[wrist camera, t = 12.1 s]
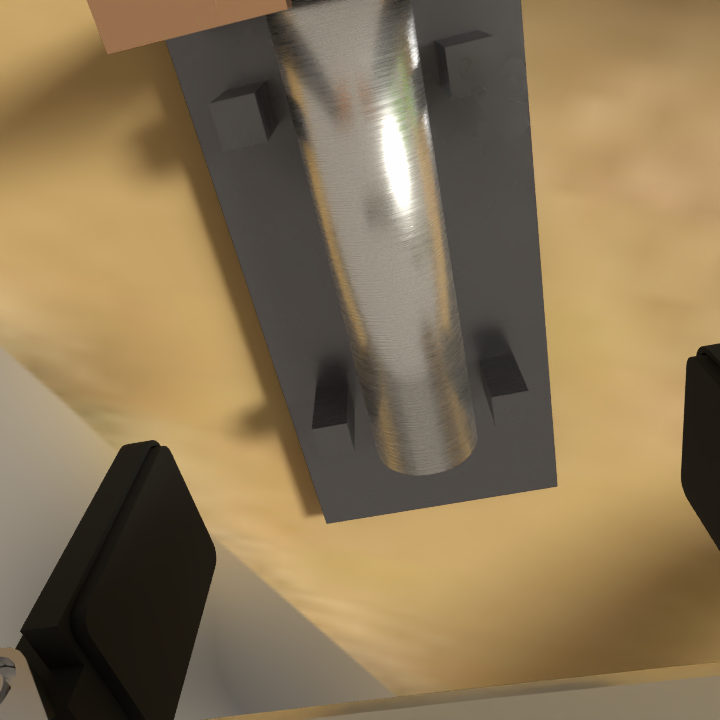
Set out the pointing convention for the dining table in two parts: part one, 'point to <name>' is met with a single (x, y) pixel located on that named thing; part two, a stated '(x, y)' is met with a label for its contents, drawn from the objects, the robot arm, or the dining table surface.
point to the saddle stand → (308, 254)
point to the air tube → (381, 219)
